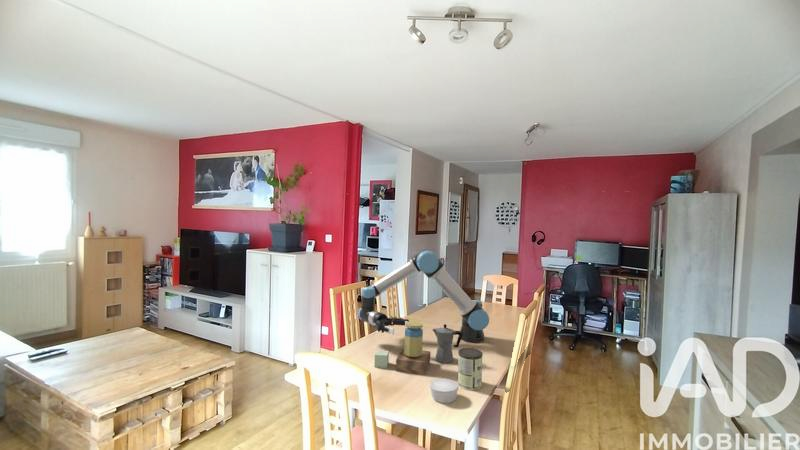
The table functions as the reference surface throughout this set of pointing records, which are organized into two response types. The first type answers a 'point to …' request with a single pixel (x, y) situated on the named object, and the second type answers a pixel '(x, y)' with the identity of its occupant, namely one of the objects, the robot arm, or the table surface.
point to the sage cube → (381, 359)
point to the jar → (413, 339)
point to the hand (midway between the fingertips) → (404, 329)
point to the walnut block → (413, 363)
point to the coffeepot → (445, 343)
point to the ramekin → (443, 390)
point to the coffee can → (470, 368)
